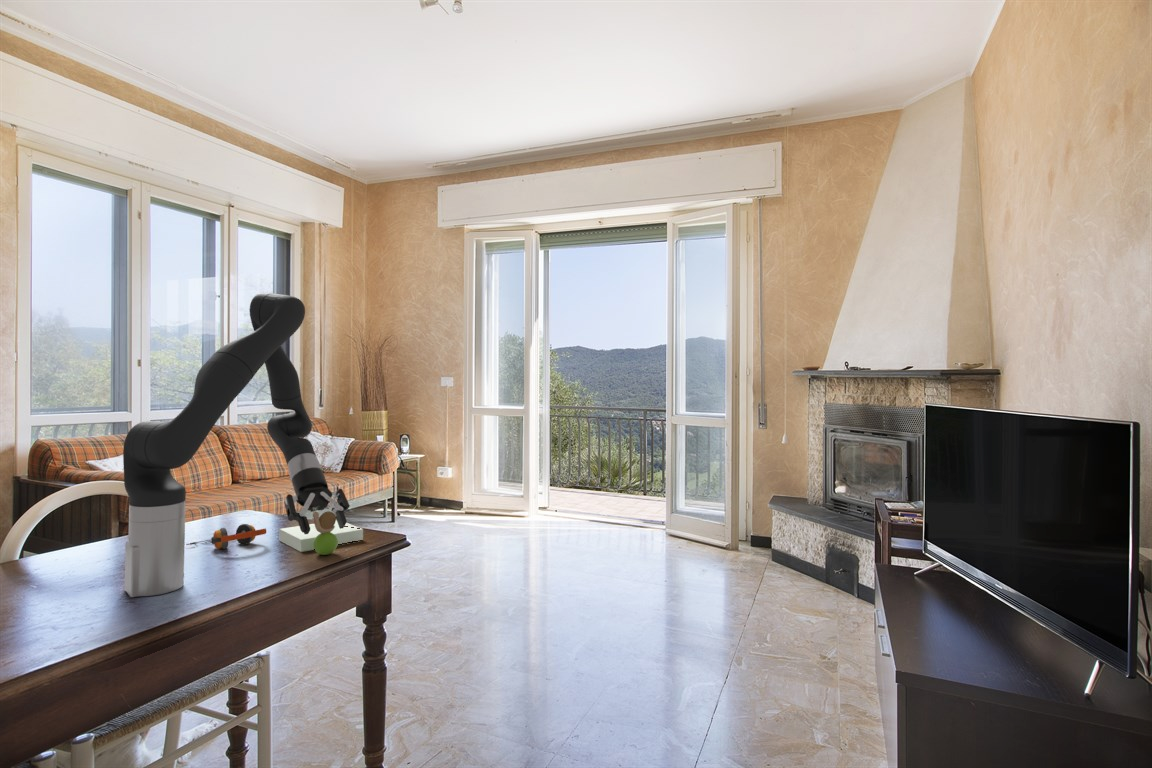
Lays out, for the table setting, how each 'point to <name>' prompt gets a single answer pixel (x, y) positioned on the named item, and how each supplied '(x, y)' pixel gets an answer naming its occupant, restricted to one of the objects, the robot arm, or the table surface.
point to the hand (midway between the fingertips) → (325, 529)
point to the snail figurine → (325, 533)
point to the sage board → (306, 541)
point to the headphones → (234, 536)
